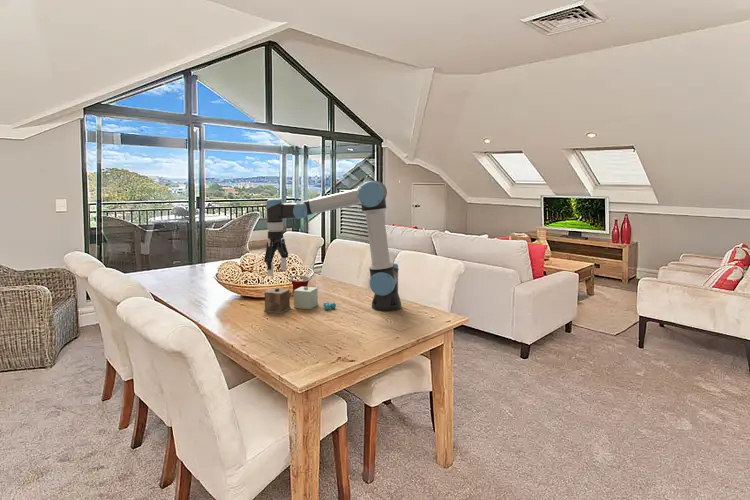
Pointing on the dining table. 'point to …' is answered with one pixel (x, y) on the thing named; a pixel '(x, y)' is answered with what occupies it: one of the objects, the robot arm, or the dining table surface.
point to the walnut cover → (277, 299)
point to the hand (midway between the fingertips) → (277, 273)
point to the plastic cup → (299, 282)
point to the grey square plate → (278, 311)
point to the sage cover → (305, 297)
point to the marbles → (327, 306)
